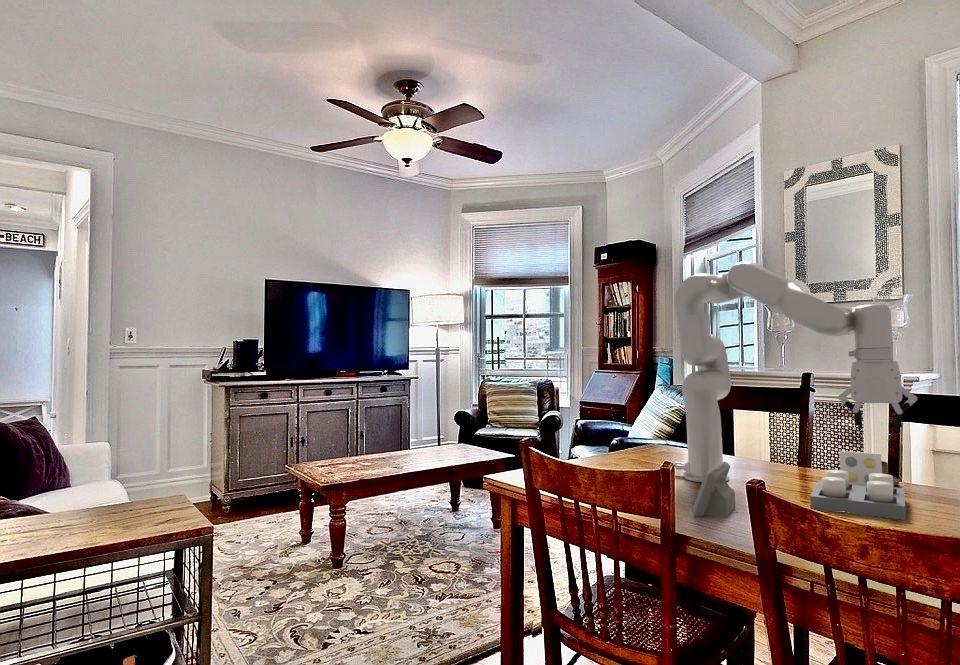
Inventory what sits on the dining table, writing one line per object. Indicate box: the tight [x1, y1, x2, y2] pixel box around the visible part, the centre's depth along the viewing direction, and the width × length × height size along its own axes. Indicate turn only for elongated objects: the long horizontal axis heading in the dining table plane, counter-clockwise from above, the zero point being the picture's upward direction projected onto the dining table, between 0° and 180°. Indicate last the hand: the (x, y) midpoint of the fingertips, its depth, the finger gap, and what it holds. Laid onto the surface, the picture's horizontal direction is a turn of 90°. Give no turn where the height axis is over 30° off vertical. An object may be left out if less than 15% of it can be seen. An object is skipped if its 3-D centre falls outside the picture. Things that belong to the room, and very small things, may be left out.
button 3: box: [867, 481, 894, 502], centre depth 131 cm, size 5×5×4 cm
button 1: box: [821, 476, 846, 497], centre depth 136 cm, size 5×5×4 cm
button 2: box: [825, 469, 849, 488], centre depth 143 cm, size 5×5×4 cm
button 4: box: [869, 473, 895, 492], centre depth 138 cm, size 5×5×4 cm
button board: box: [809, 479, 907, 521], centre depth 137 cm, size 18×18×3 cm
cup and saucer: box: [881, 460, 900, 487], centre depth 155 cm, size 12×12×6 cm
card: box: [839, 450, 882, 485], centre depth 148 cm, size 10×3×10 cm, turn 54°
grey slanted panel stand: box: [691, 461, 736, 519], centre depth 137 cm, size 16×9×11 cm, turn 133°
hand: (878, 428), depth 139 cm, fingers open, 6 cm apart
